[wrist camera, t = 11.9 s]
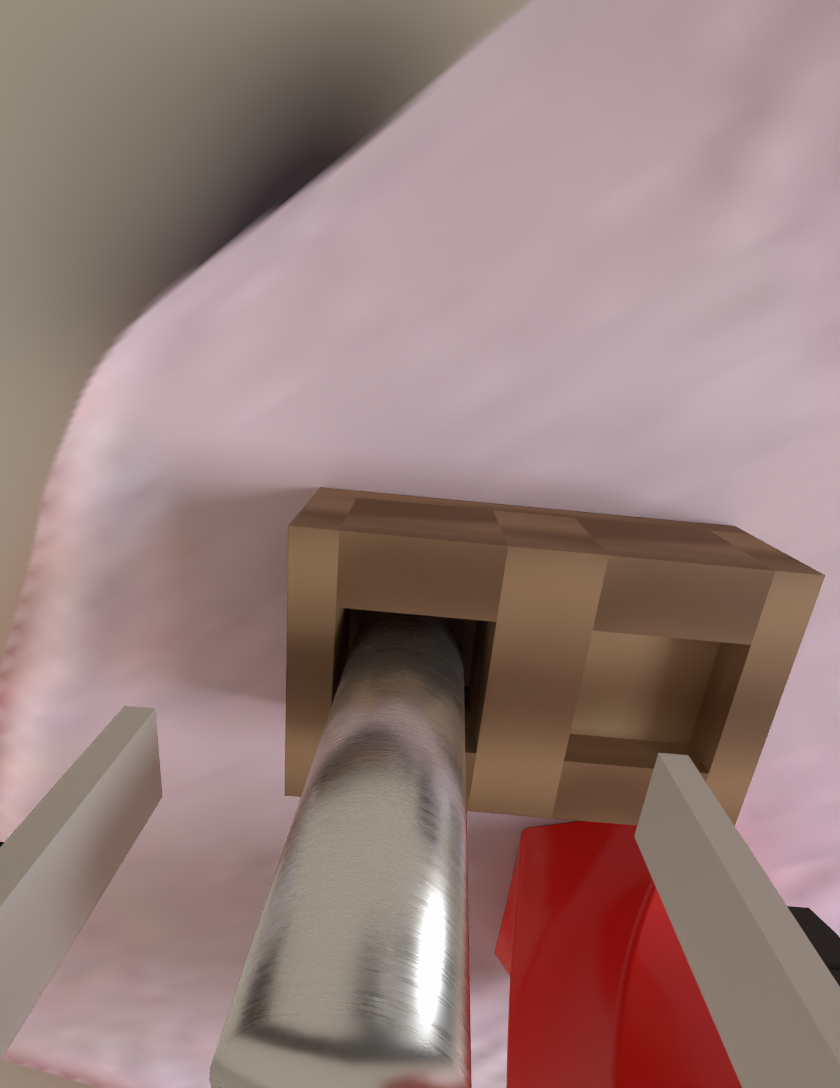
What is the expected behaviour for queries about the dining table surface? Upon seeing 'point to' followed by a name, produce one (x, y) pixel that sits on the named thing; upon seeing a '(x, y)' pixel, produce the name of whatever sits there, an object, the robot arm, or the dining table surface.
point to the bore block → (556, 641)
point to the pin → (369, 886)
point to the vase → (600, 971)
